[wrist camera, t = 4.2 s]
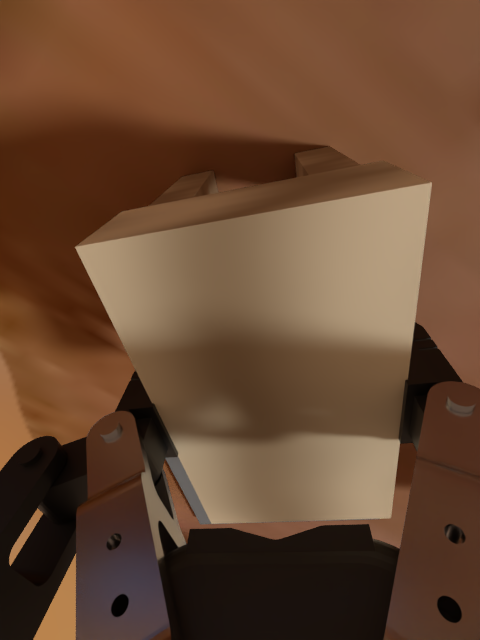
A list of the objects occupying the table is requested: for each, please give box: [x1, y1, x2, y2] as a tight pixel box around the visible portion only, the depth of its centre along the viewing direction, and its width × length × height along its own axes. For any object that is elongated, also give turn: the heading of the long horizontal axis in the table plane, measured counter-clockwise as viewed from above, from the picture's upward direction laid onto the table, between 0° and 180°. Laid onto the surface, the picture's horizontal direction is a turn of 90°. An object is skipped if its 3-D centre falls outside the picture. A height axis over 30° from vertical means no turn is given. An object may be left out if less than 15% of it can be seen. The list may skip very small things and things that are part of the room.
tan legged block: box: [75, 146, 432, 524], centre depth 12 cm, size 6×11×9 cm, turn 11°
